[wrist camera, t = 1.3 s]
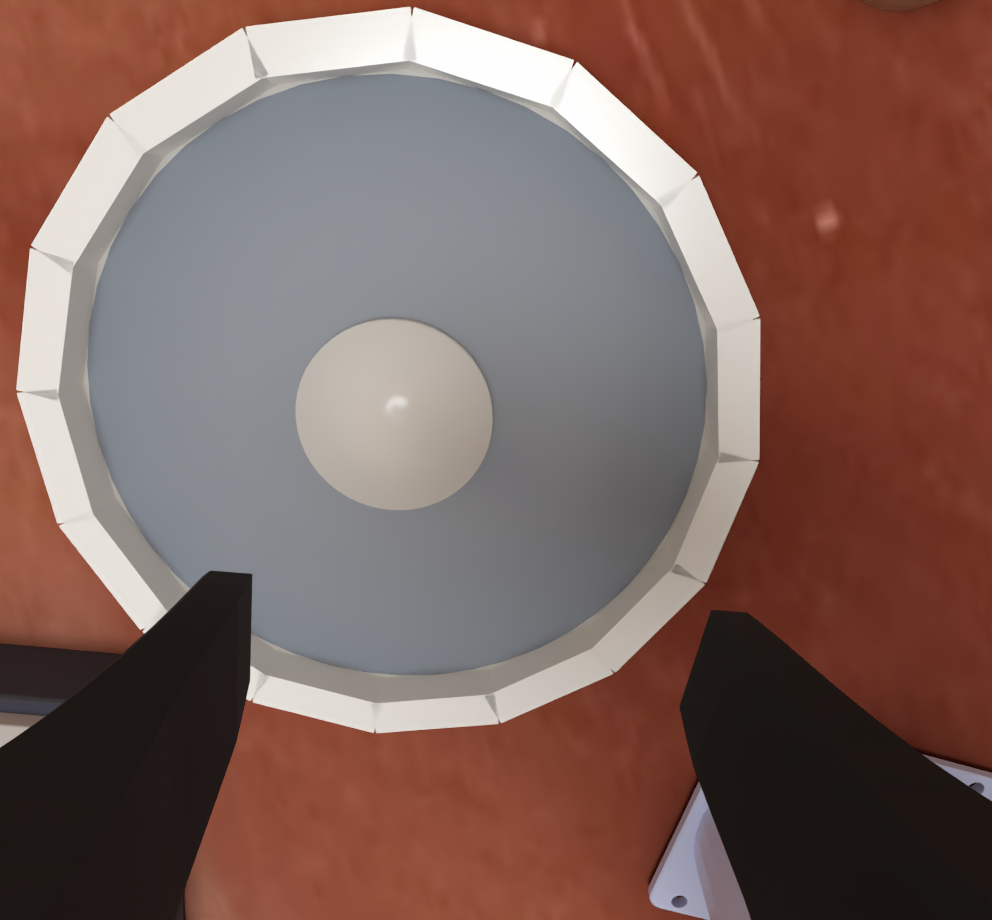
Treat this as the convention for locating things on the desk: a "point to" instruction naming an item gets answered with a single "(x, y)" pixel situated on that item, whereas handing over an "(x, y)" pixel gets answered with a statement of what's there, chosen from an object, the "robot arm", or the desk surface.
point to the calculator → (43, 686)
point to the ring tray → (394, 366)
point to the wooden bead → (897, 4)
